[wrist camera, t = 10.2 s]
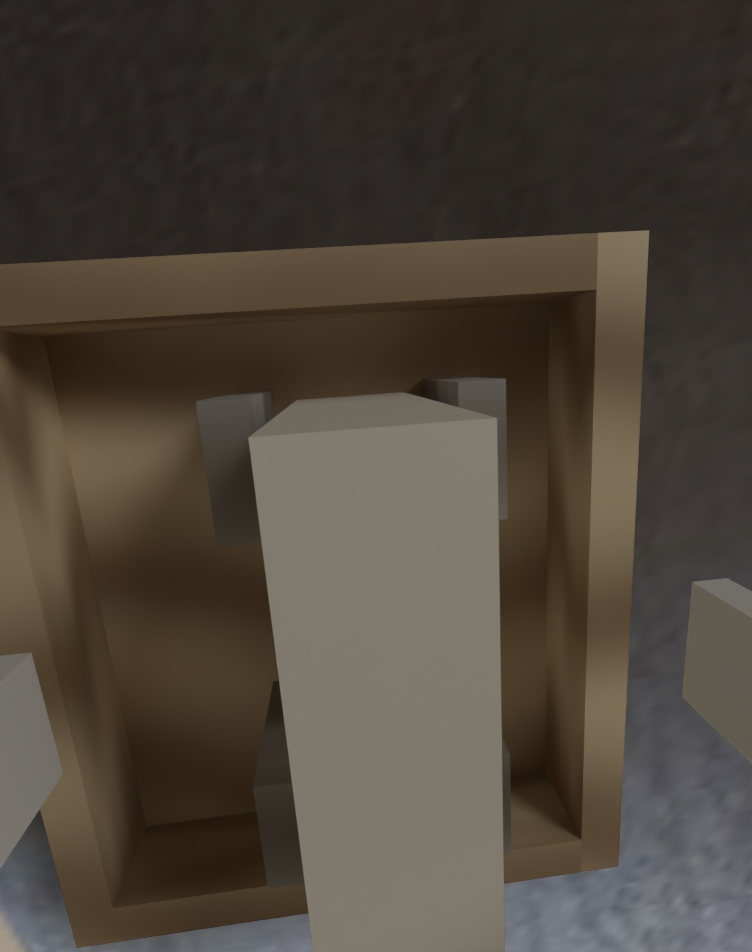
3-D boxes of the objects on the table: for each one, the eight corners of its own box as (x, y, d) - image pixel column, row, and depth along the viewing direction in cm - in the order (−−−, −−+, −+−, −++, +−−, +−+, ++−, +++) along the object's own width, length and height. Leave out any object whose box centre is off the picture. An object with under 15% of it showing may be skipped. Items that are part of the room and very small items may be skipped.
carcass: (9, 296, 13) (-181, 251, 8) (573, 264, 14) (697, 208, 9) (127, 833, 17) (46, 1016, 12) (564, 773, 18) (649, 920, 13)
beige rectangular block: (296, 400, 13) (248, 437, 6) (403, 392, 14) (497, 417, 6) (334, 763, 16) (336, 1132, 8) (423, 752, 16) (506, 1100, 8)
